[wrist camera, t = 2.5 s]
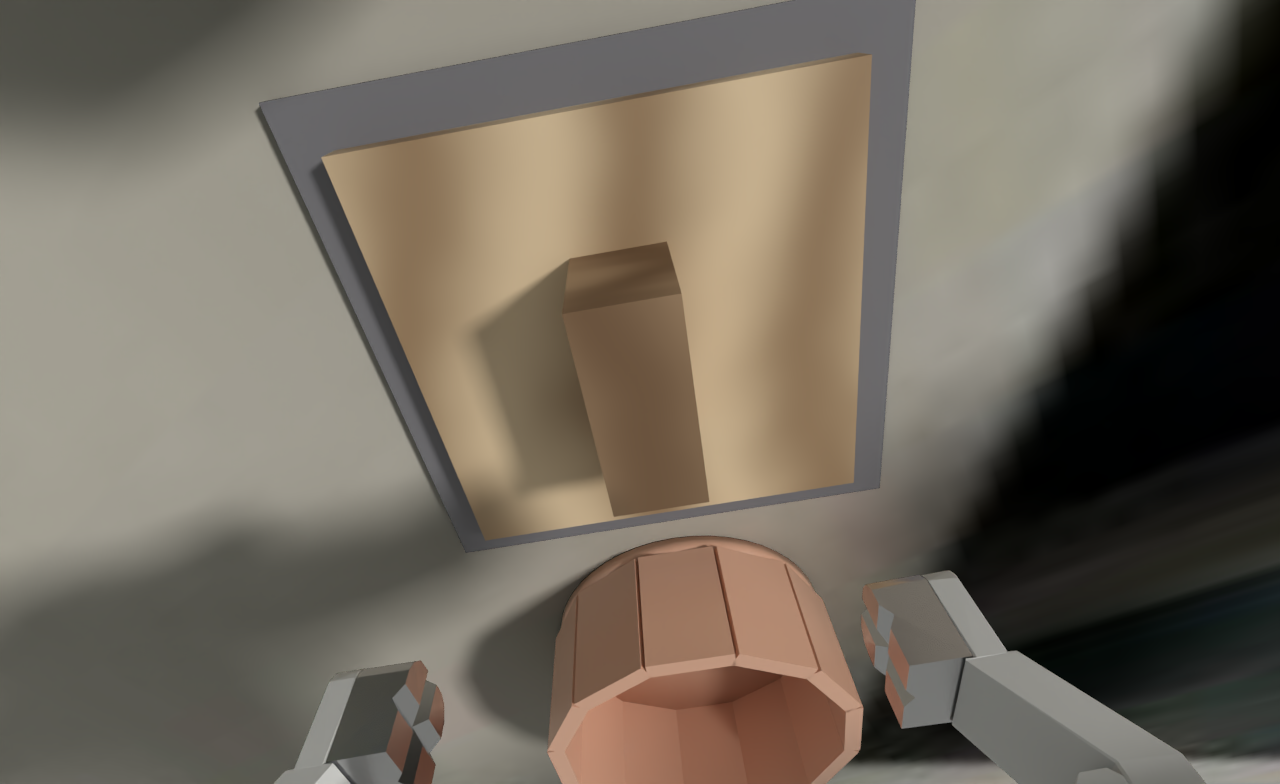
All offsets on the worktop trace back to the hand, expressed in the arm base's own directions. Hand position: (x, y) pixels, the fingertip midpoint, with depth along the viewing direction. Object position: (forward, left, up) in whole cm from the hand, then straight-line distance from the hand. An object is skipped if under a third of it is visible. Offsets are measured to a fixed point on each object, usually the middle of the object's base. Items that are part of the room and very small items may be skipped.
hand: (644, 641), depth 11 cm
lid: (0, 0, -12) cm, 12 cm away
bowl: (0, +17, -12) cm, 21 cm away
